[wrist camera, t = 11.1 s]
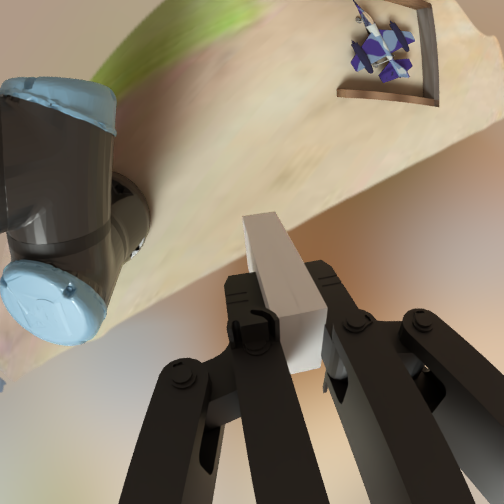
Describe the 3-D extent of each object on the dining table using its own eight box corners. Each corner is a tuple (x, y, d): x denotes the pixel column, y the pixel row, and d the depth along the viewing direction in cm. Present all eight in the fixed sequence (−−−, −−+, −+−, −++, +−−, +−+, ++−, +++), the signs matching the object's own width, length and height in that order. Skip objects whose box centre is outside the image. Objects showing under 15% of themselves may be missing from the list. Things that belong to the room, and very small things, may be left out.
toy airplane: (336, -8, 28) (347, -14, 25) (409, 28, 31) (422, 26, 28) (320, 62, 34) (330, 60, 31) (396, 93, 38) (409, 94, 34)
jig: (337, 96, 37) (345, 97, 35) (325, -17, 27) (333, -23, 25) (428, 104, 39) (439, 107, 36) (420, 6, 29) (431, 3, 26)
